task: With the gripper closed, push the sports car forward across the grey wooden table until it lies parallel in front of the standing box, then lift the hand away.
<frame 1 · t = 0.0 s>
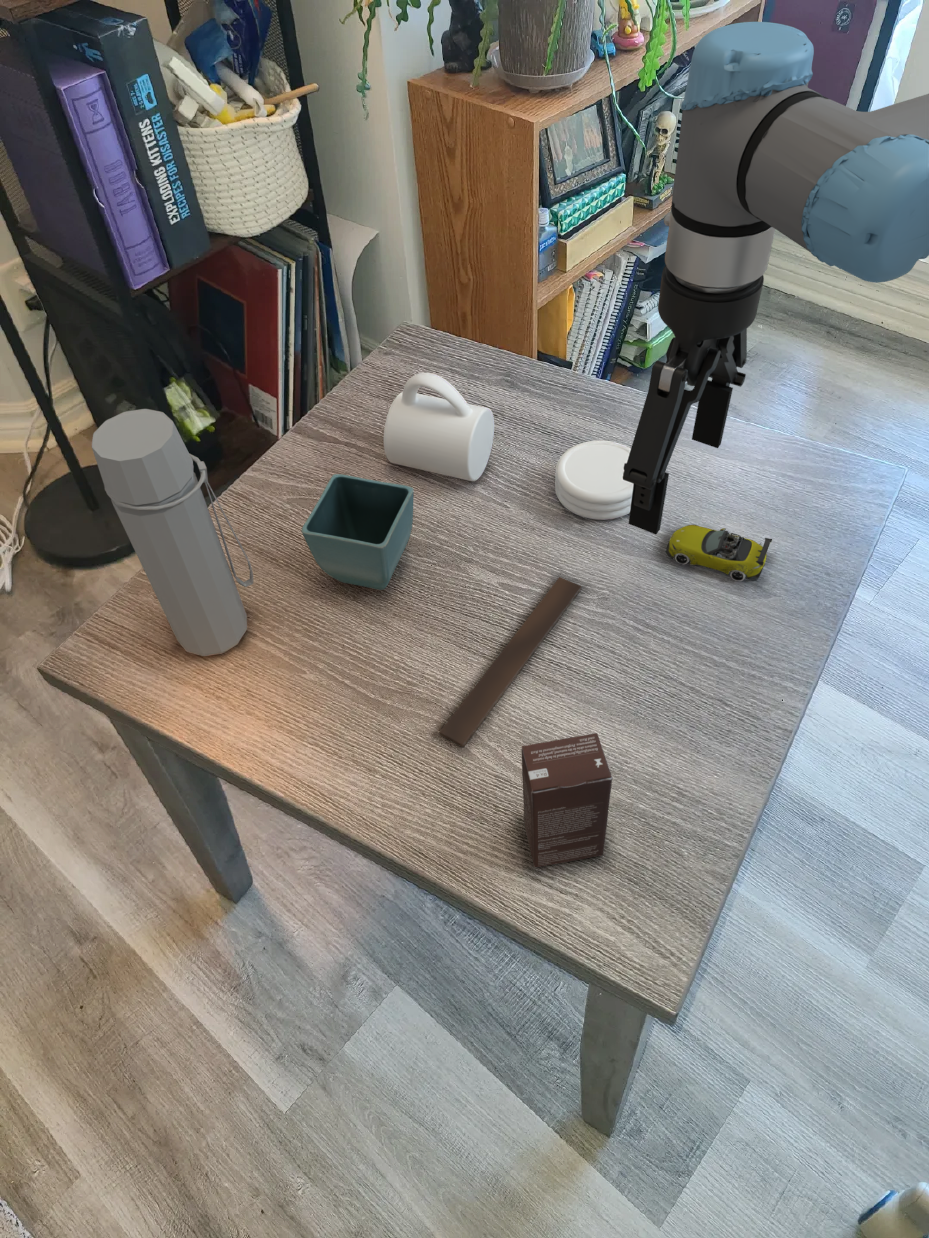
hand: (676, 482, 84), 12 cm above the table, tool pointing down, fingers open, 13 cm apart
water bottle: (223, 630, 90), on the table
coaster: (599, 492, 101), on the table
sports car: (714, 558, 93), on the table
flower pot: (370, 572, 95), on the table
mug: (442, 465, 105), on the table
box: (561, 839, 74), on the table
ruler: (514, 657, 86), on the table
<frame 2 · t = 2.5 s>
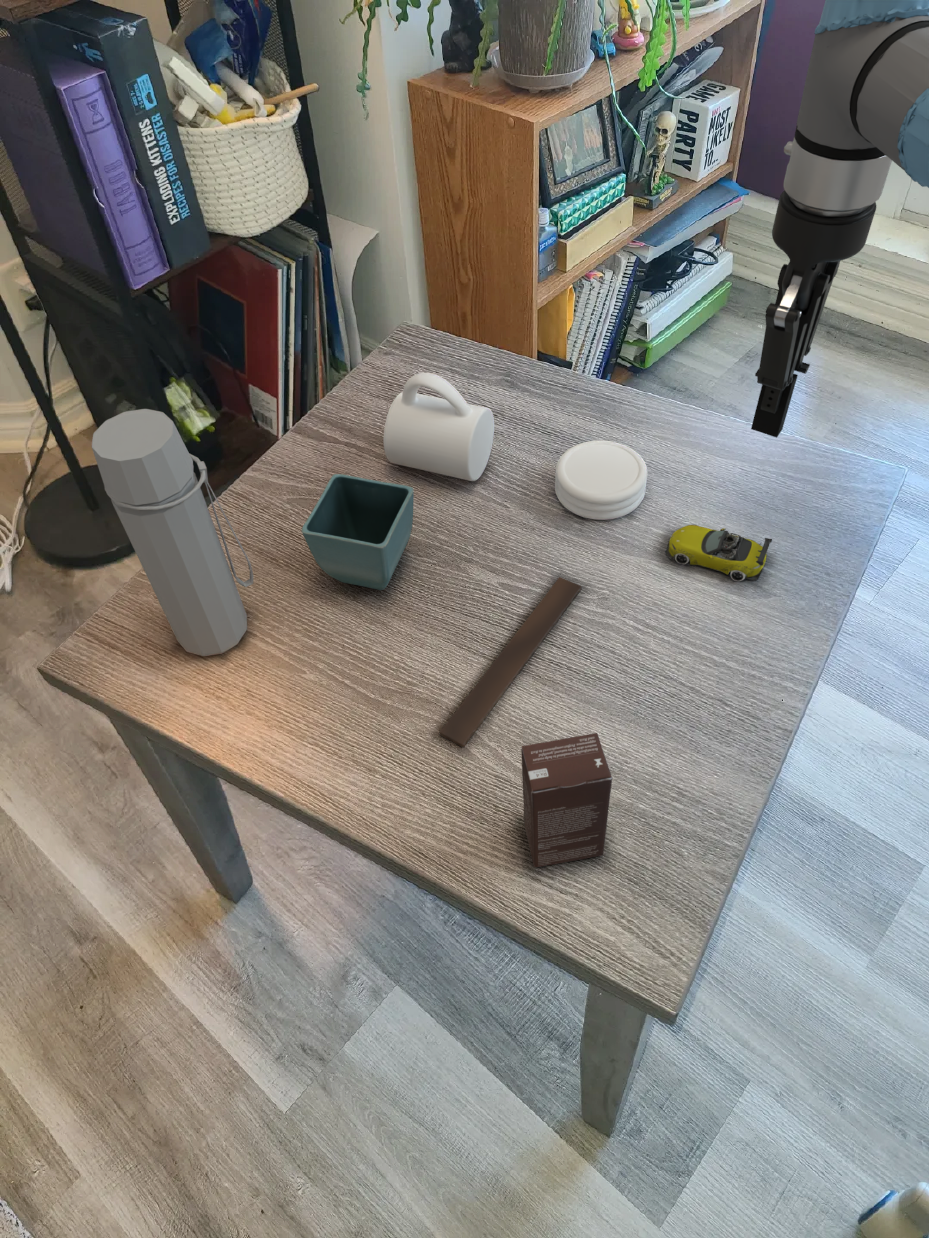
hand: (766, 429, 90), 10 cm above the table, tool pointing down, fingers closed
nothing on the table moved.
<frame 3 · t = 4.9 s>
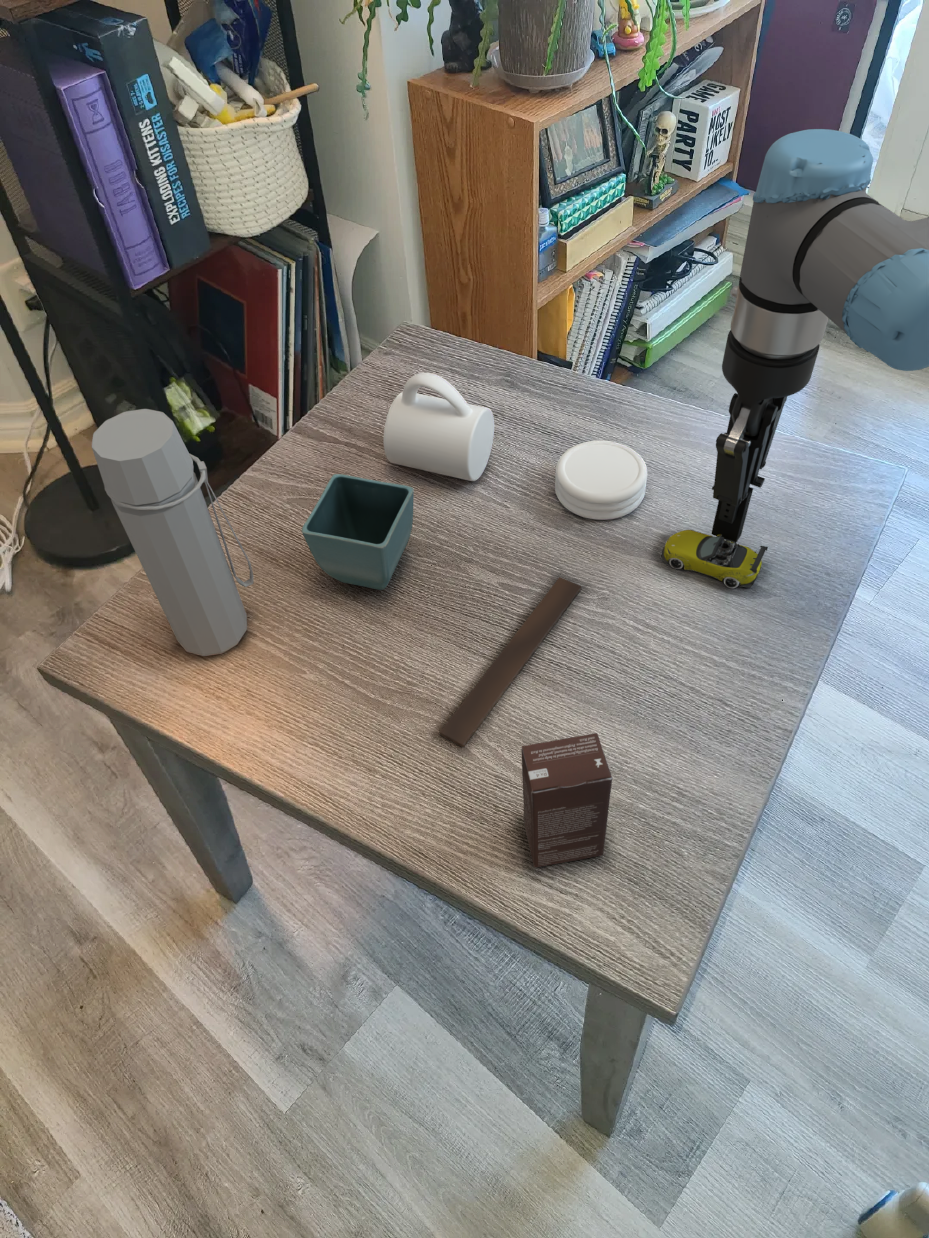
hand: (726, 534, 93), 1 cm above the table, tool pointing down, fingers closed
sports car: (709, 564, 93), on the table, touching gripper
everything else where it was.
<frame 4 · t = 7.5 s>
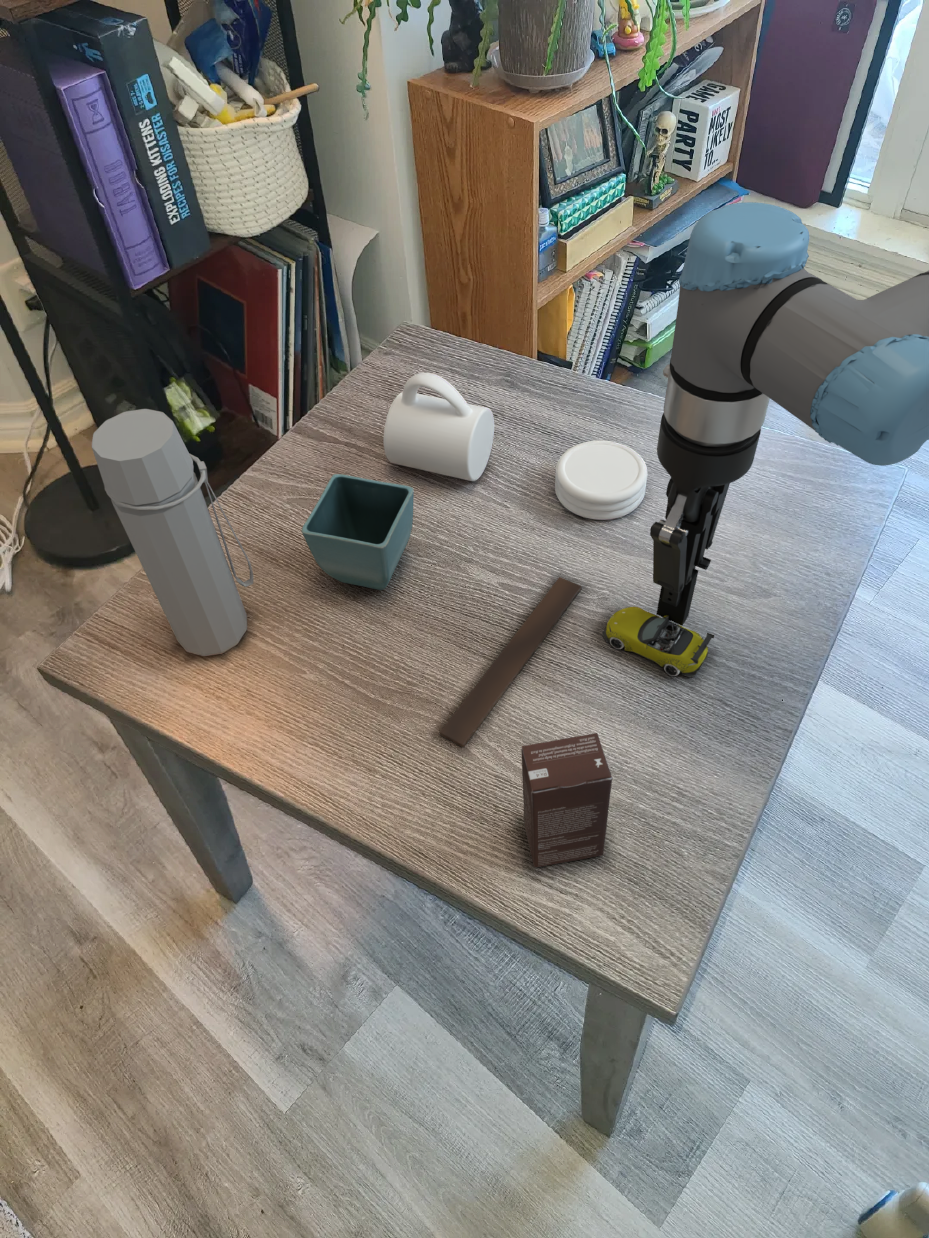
hand: (672, 615, 87), 2 cm above the table, tool pointing down, fingers closed
sports car: (654, 646, 86), on the table, touching gripper
everything else where it was.
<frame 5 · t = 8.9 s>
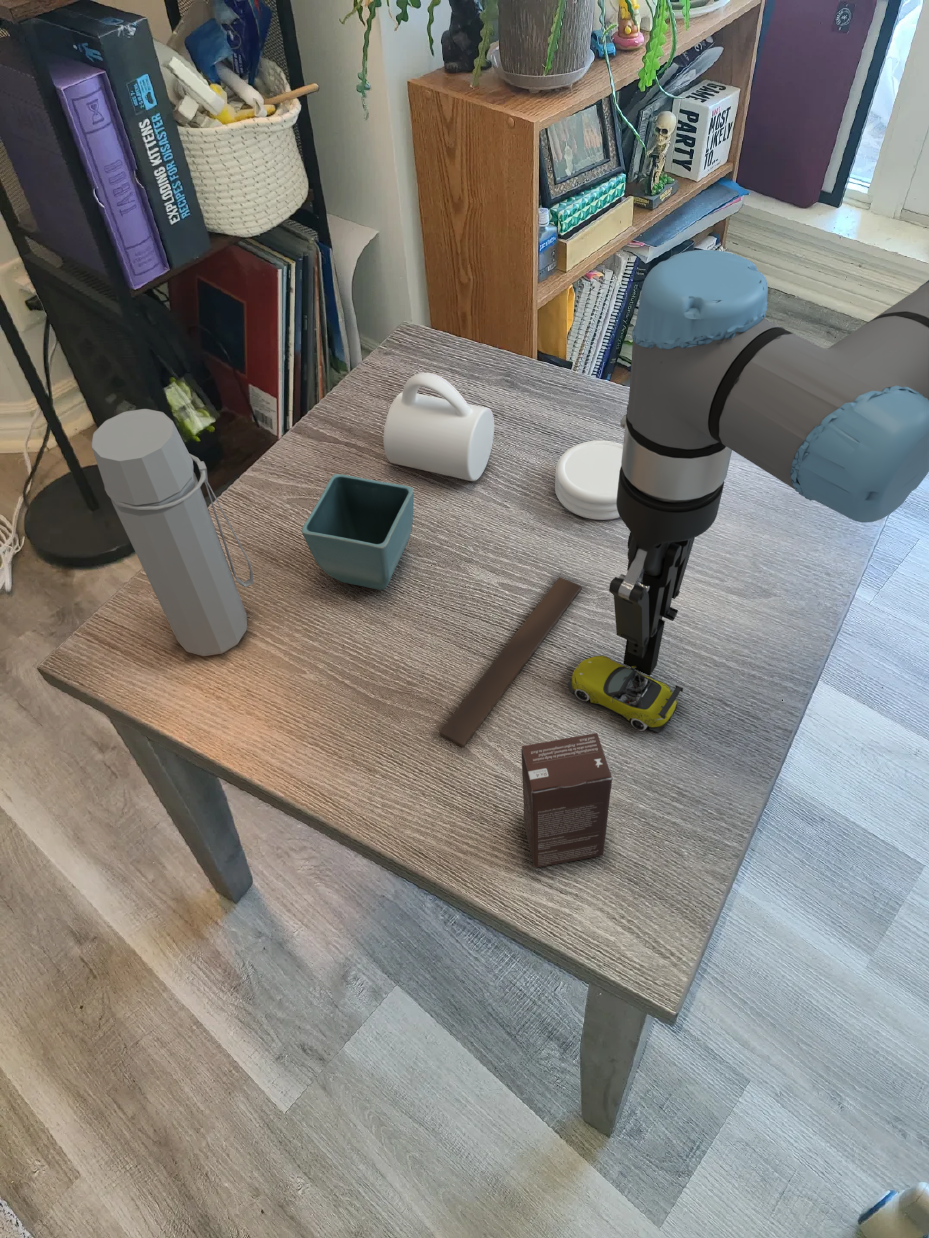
hand: (639, 664, 83), 2 cm above the table, tool pointing down, fingers closed
sports car: (621, 697, 83), on the table, touching gripper
everything else where it was.
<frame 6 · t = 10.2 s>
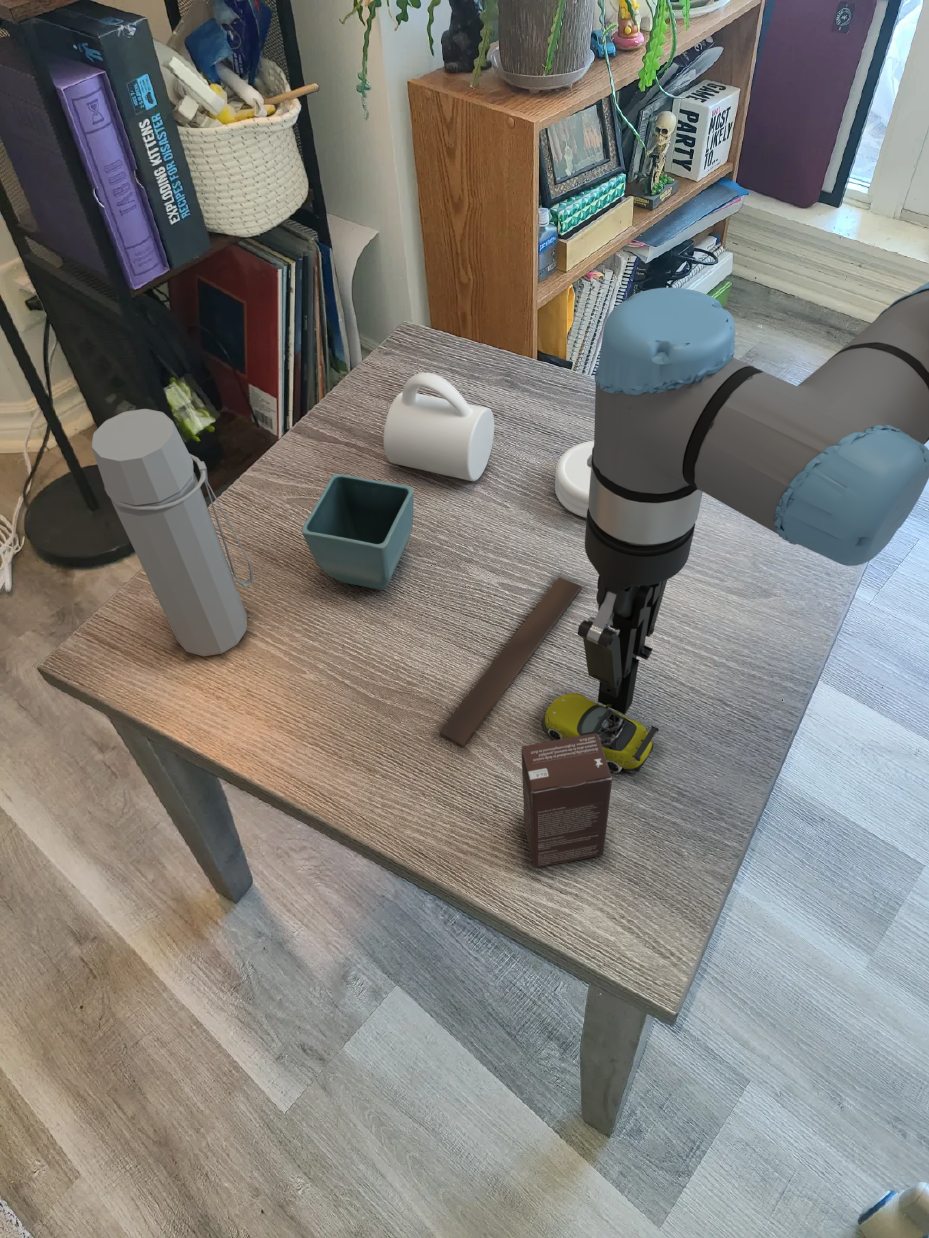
hand: (614, 702, 80), 2 cm above the table, tool pointing down, fingers closed
sports car: (596, 737, 80), on the table, touching gripper
everything else where it was.
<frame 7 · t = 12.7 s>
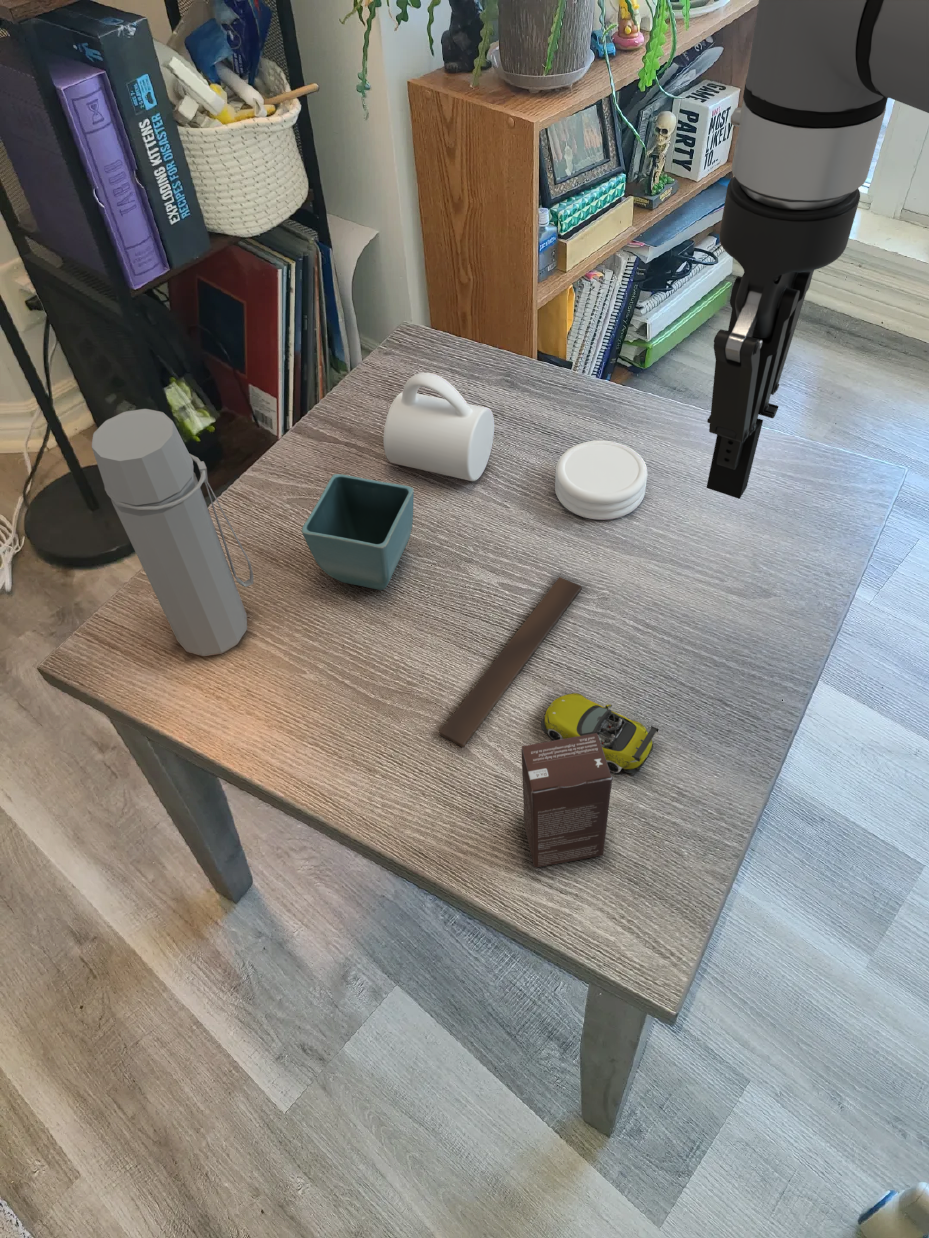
hand: (726, 487, 70), 20 cm above the table, tool pointing down, fingers closed
sports car: (596, 737, 80), on the table
everything else where it was.
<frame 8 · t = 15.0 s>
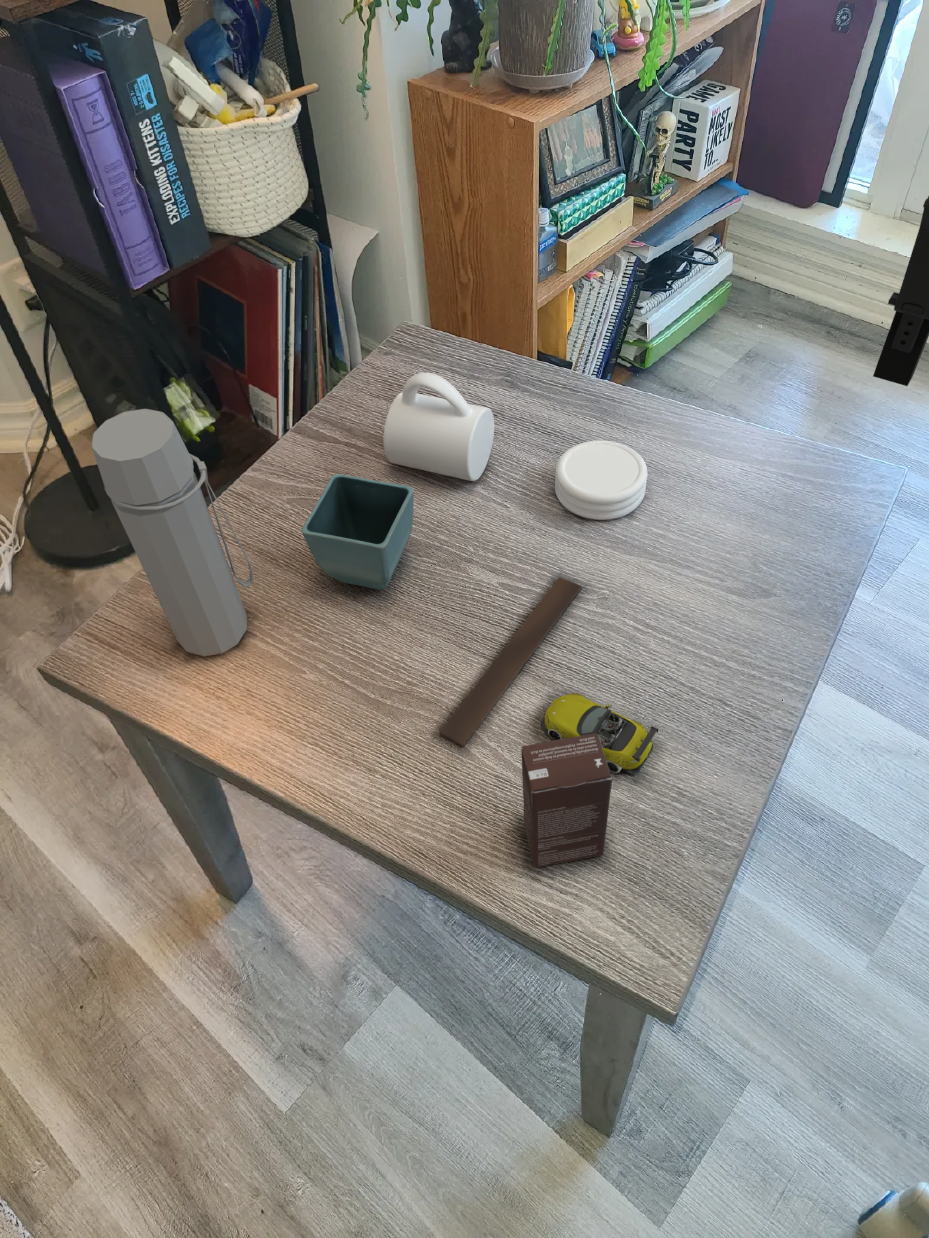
hand: (892, 376, 72), 24 cm above the table, tool pointing down, fingers closed
nothing on the table moved.
at the end: sports car inside the target area on the table beside the box (1.2 cm from its centre), on the table; sports car tilted 0°; box moved 0.2 cm from its start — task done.
